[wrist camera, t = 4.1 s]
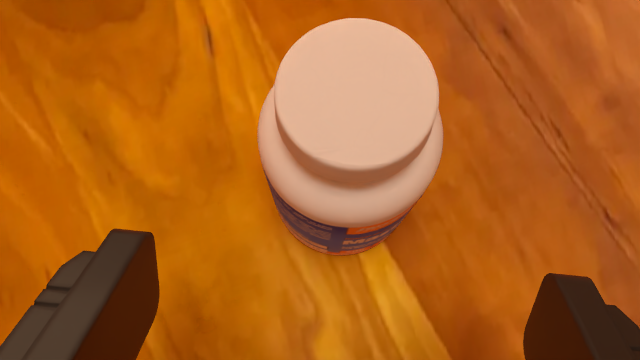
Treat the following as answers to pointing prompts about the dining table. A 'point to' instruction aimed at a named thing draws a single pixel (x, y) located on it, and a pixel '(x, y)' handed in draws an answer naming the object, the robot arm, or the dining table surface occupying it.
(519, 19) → the dining table surface
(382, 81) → the pill bottle
